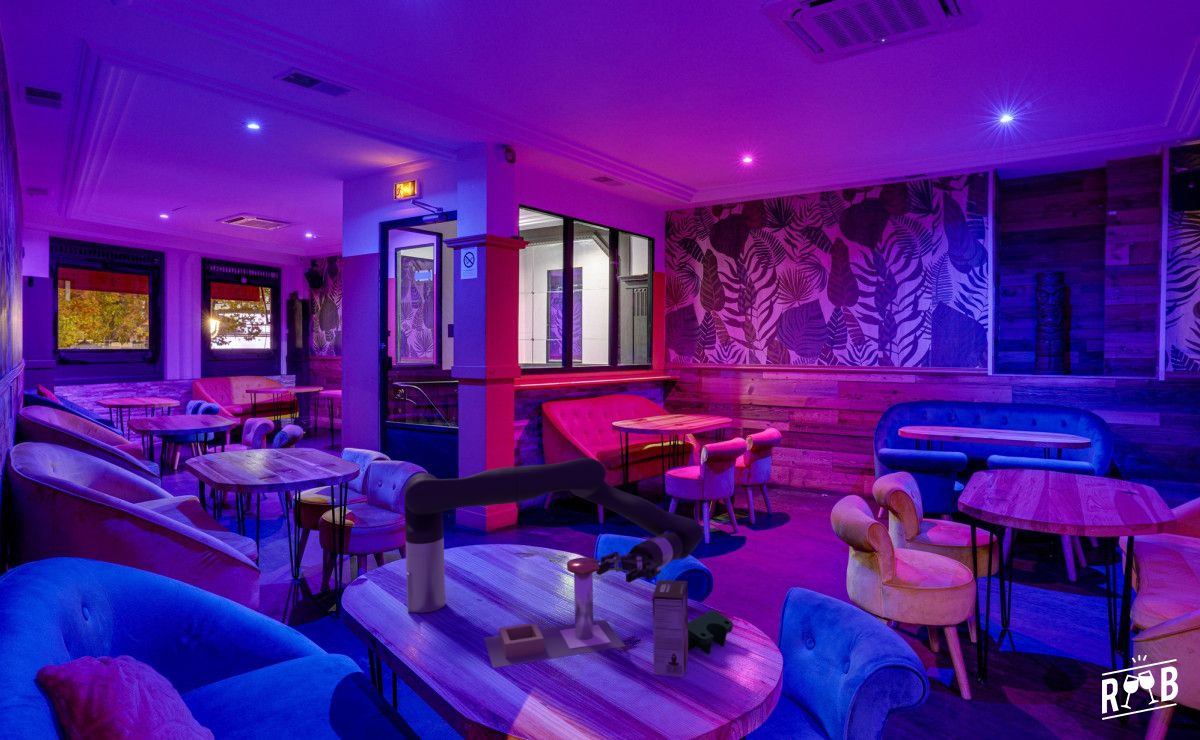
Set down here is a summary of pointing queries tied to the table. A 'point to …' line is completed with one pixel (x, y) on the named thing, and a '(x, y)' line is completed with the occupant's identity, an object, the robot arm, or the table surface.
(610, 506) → the robot arm
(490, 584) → the table surface
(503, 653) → the board
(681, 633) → the coffee box
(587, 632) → the mushroom shaped post
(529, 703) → the table surface
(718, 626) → the clamp
